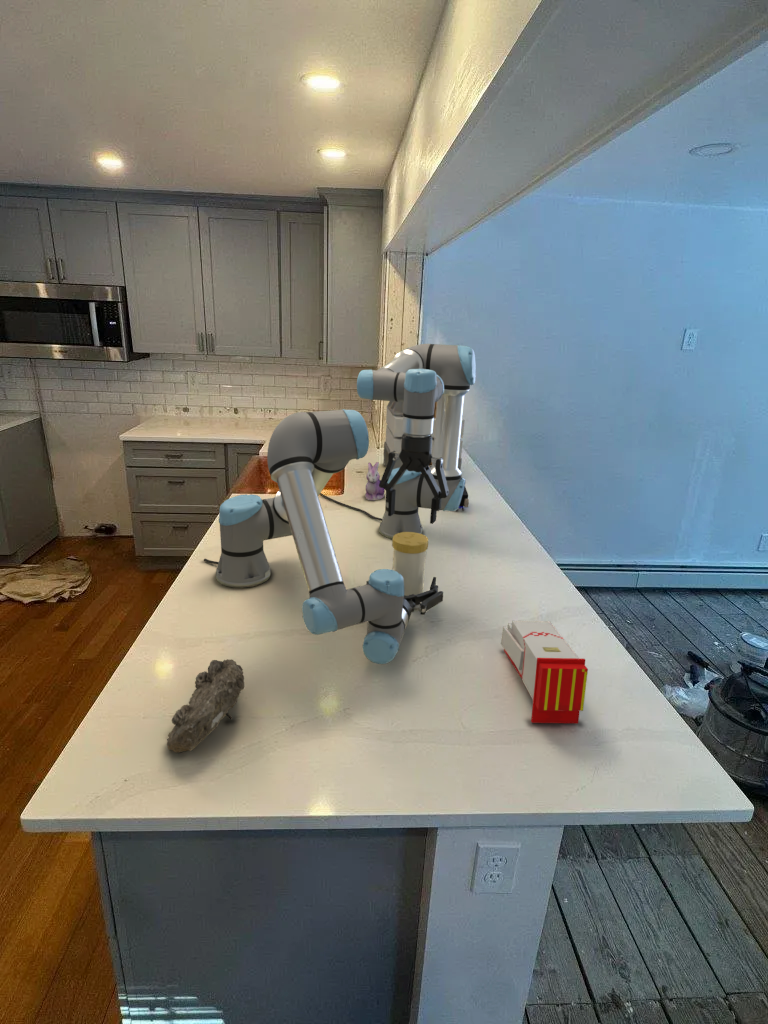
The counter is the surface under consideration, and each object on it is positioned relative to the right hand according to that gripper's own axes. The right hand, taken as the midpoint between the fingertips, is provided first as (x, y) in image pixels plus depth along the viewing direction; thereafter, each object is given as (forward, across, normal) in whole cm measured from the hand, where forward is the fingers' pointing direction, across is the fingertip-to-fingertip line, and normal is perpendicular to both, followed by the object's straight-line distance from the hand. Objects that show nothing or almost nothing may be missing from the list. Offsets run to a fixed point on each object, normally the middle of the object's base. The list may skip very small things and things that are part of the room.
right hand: (411, 518), depth 147 cm
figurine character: (+24, +8, -83) cm, 87 cm away
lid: (+6, 0, 0) cm, 6 cm away
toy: (+24, -38, +21) cm, 49 cm away
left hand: (+18, 0, -1) cm, 18 cm away
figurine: (+24, +43, -77) cm, 91 cm away
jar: (+24, 0, 0) cm, 24 cm away
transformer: (+24, +39, -122) cm, 130 cm away
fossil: (+24, +17, +60) cm, 67 cm away
